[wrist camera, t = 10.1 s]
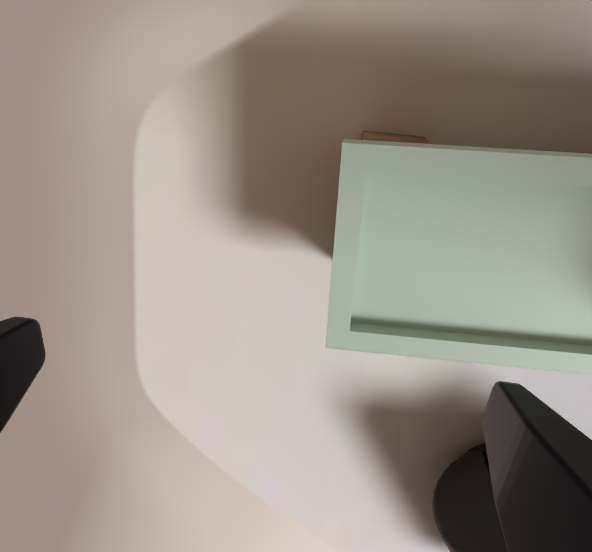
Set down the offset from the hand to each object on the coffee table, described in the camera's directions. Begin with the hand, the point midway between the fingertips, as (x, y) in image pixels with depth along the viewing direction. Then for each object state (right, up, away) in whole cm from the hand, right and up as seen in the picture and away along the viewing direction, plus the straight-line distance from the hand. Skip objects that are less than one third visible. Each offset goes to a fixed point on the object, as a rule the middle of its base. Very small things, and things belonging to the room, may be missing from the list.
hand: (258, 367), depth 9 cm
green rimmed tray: (+12, +2, +6) cm, 14 cm away
